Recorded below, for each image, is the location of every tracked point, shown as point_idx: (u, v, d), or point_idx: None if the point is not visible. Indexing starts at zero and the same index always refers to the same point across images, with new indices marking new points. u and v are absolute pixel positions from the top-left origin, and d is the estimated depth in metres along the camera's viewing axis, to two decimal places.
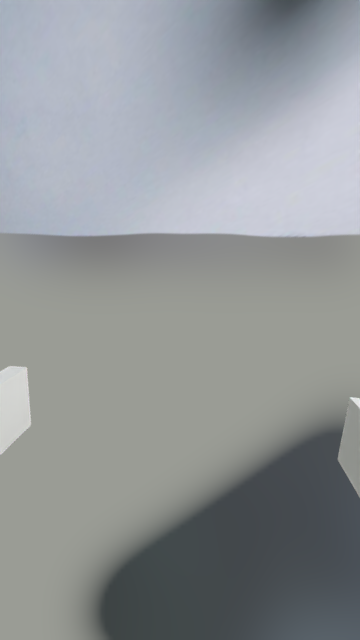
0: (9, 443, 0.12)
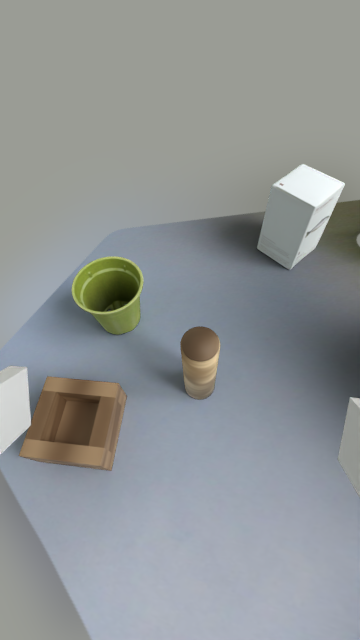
0: (9, 443, 0.12)
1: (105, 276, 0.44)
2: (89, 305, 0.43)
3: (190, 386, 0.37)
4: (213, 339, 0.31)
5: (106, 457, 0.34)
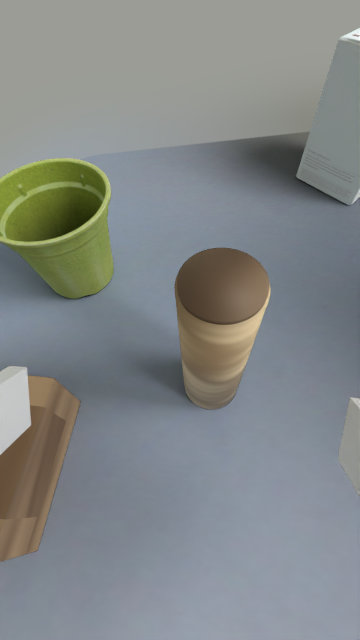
0: (9, 443, 0.12)
1: (51, 198, 0.26)
2: None
3: (195, 385, 0.19)
4: (254, 274, 0.13)
5: (16, 534, 0.16)
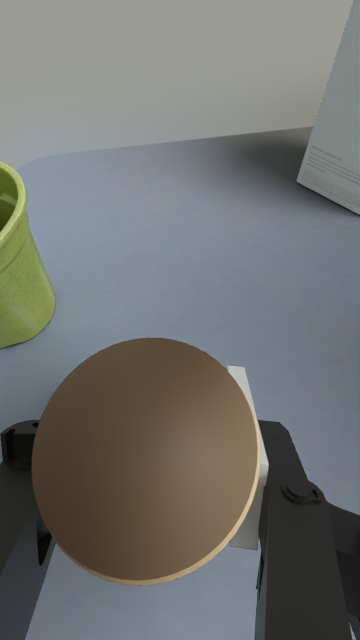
0: None
1: None
2: None
3: None
4: (222, 413, 0.05)
5: None
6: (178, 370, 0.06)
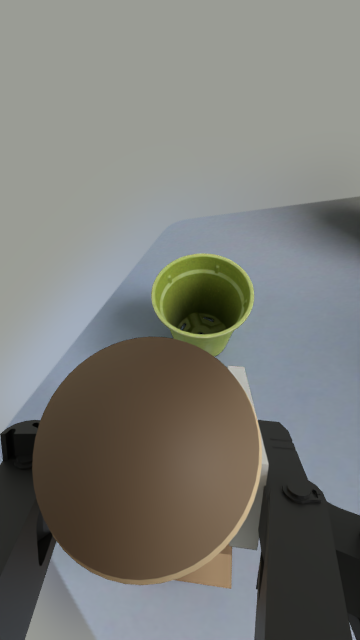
0: None
1: (186, 281, 0.32)
2: (168, 321, 0.31)
3: None
4: (223, 413, 0.05)
5: None
6: (179, 369, 0.06)
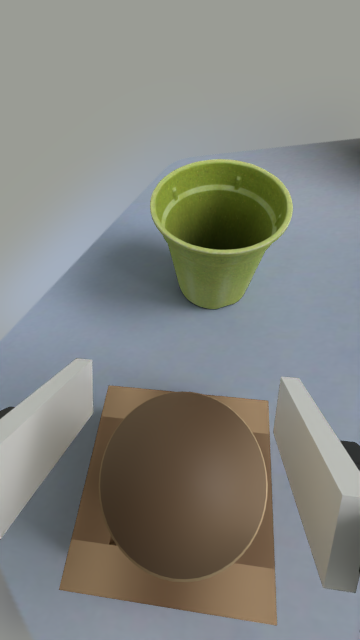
0: (79, 428, 0.13)
1: (196, 202, 0.24)
2: None
3: None
4: (240, 456, 0.07)
5: None
6: (206, 420, 0.08)
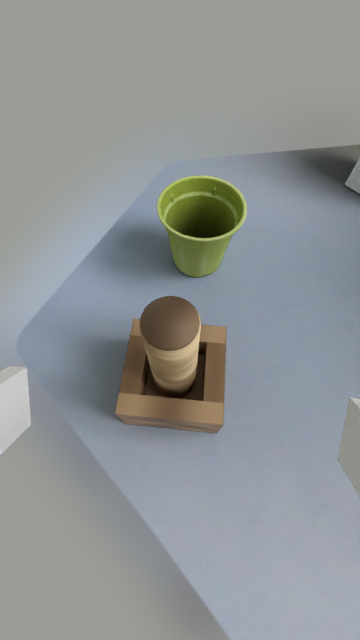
0: (9, 443, 0.12)
1: (186, 203, 0.36)
2: None
3: (160, 383, 0.26)
4: (190, 316, 0.20)
5: None
6: (178, 305, 0.20)
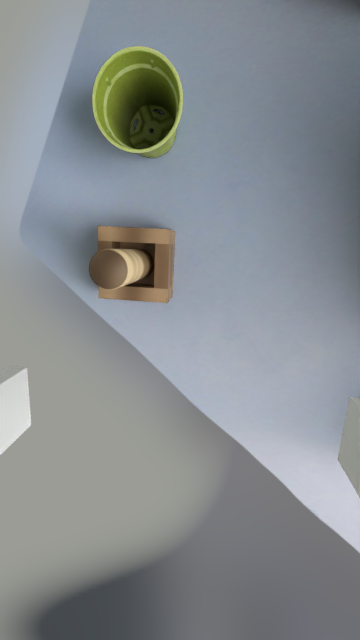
0: (9, 443, 0.12)
1: (126, 78, 0.33)
2: (116, 127, 0.35)
3: None
4: (120, 265, 0.29)
5: (169, 292, 0.40)
6: (112, 257, 0.29)
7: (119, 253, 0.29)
